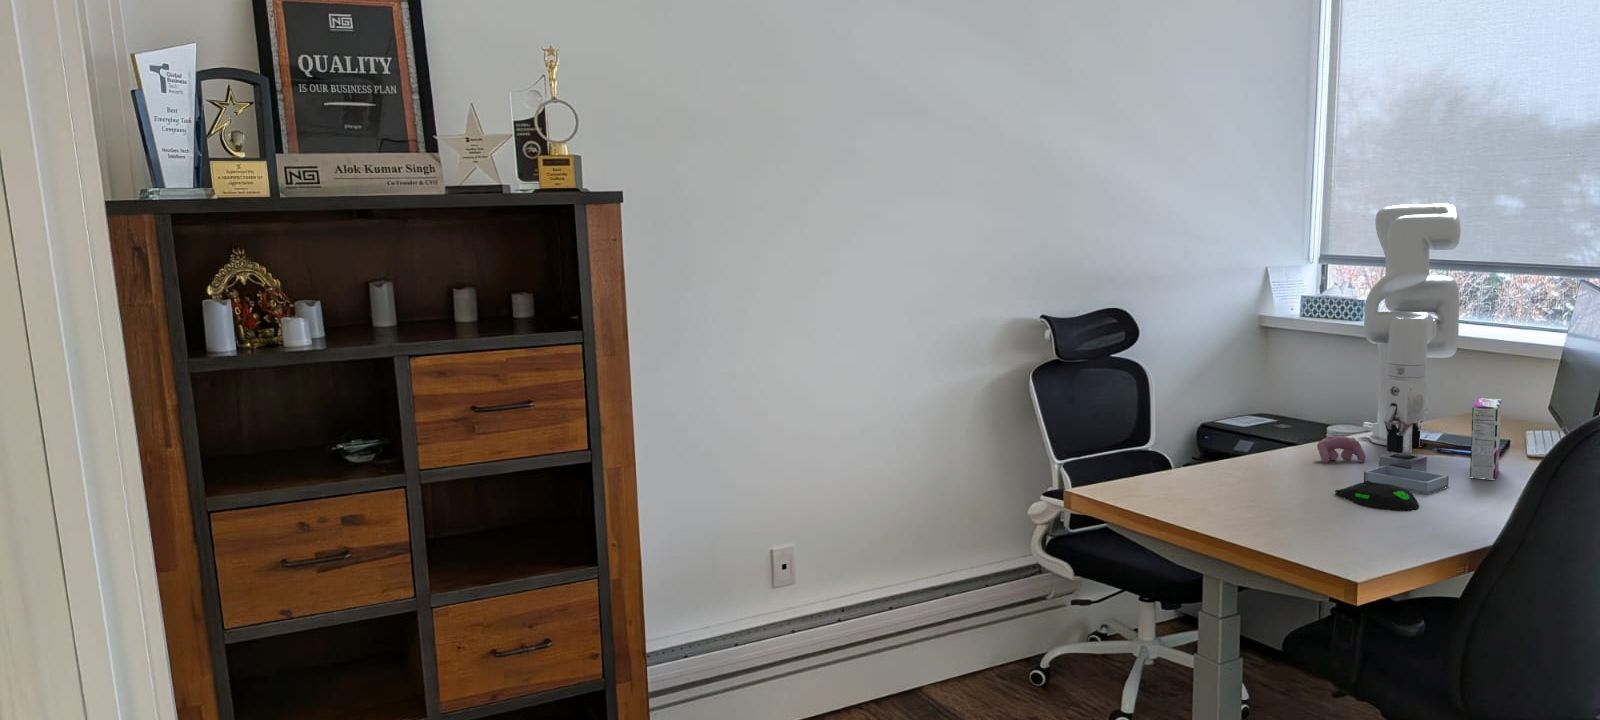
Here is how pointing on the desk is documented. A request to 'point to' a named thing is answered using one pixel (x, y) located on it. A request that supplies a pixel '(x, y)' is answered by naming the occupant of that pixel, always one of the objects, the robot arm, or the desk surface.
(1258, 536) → the desk surface
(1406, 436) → the pin
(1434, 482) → the tray
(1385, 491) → the computer mouse
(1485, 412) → the candy bar box
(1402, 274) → the robot arm
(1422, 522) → the desk surface
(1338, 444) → the video game controller
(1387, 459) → the block
